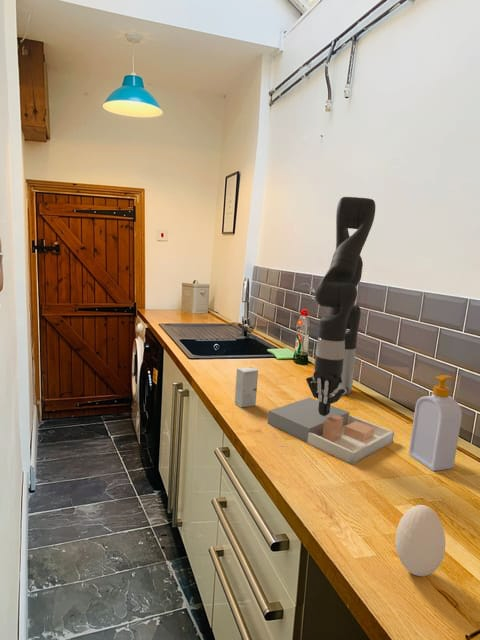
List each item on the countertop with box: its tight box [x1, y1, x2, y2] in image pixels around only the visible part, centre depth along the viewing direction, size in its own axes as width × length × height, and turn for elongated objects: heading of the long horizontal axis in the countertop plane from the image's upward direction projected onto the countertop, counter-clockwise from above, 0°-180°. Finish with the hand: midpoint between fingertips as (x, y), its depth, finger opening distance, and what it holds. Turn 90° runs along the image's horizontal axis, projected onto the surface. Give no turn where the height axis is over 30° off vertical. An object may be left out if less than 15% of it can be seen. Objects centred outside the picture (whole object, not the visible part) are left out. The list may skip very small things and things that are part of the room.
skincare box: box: [234, 366, 259, 408], centre depth 136 cm, size 6×4×12 cm
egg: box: [394, 504, 446, 577], centre depth 67 cm, size 7×7×12 cm
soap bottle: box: [408, 374, 463, 472], centre depth 104 cm, size 9×7×23 cm
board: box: [267, 397, 350, 443], centre depth 124 cm, size 20×15×4 cm
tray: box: [307, 414, 395, 466], centre depth 114 cm, size 21×14×3 cm, turn 133°
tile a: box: [344, 421, 375, 442], centre depth 117 cm, size 6×6×2 cm
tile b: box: [322, 415, 343, 442], centre depth 114 cm, size 6×6×2 cm
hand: (323, 414), depth 115 cm, fingers closed
